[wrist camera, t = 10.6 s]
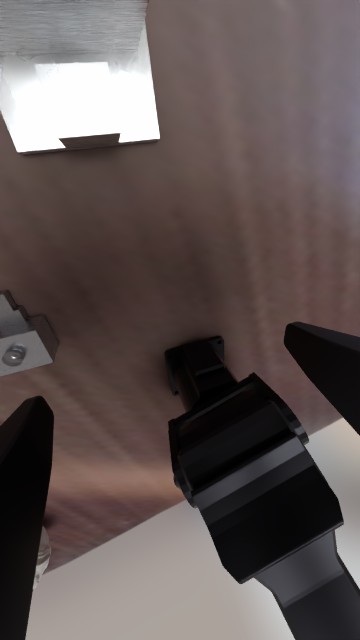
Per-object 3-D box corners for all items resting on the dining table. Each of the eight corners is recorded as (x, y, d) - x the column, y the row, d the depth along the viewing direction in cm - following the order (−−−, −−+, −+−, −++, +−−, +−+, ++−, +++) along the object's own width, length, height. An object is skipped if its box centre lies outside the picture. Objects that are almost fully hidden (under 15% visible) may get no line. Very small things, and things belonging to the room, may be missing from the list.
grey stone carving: (66, 510, 32) (57, 581, 26) (39, 536, 33) (25, 609, 27) (21, 507, 28) (0, 588, 23) (-6, 536, 30) (-34, 619, 24)
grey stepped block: (59, 343, 19) (51, 367, 17) (8, 356, 18) (-8, 383, 16) (29, 285, 16) (14, 303, 14) (-33, 298, 16) (-60, 318, 13)
